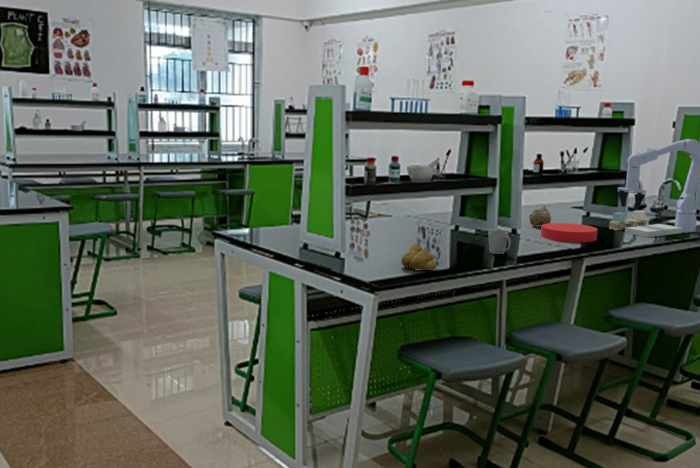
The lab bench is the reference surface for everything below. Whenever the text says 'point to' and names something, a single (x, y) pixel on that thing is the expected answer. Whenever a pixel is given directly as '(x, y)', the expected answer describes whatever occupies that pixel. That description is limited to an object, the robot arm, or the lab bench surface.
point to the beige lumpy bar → (627, 224)
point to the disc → (569, 232)
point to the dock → (653, 230)
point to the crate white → (639, 215)
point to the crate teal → (619, 217)
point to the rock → (540, 217)
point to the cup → (498, 242)
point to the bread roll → (418, 259)
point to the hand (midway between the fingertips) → (630, 207)
